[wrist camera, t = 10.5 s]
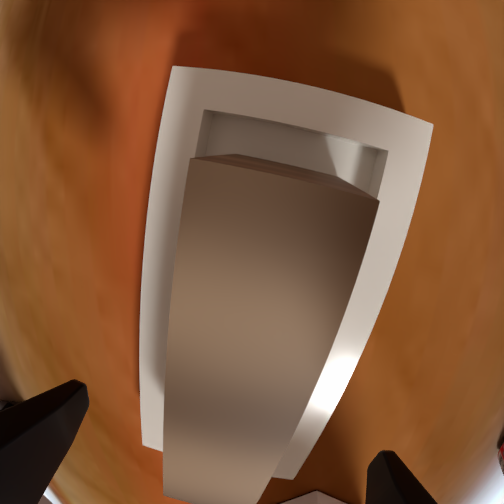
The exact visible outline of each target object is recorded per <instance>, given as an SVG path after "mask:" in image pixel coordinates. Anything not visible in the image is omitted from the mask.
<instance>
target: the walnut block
mask: <svg viewBox="0 0 504 504" xmlns="http://www.w3.org/2000/svg"><path fill="white" fill-rule="evenodd" d="M379 203H380V201H379V200H378V199H376V198H374V197H373V196H371V195H369V194H367V193H366V192H364V191H362V190H361V189H359V188H357V187H355V186H354V185H352V184H350V183H348V182H347V181H345V180H343V179H341V178H339V177H337V176H334V175H330V174H326V173H322V172H318V171H314V170H310V169H305V168H301V167H297V166H292V165H288V164H284V163H279V162H274V161H270V160H265V159H260V158H255V157H250V156H245V155H240V154H227V155H216V156H205V157H196V158H190V161H189V166H188V172H187V178H186V185H185V191H184V198H183V204H182V211H181V218H180V225H179V233H178V240H177V248H176V256H175V265H174V274H173V283H172V293H171V303H170V314H169V326H168V339H167V353H166V370H165V390H164V418H163V495H164V496H167V497H171V498H174V499H178V500H181V501H185V502H188V503H192V504H257V502H258V500H259V498H260V497H261V495H262V493H263V491H264V490H265V488H266V486H267V484H268V482H269V481H270V479H271V477H272V475H273V473H274V471H275V470H276V468H277V466H278V464H279V462H280V460H281V458H282V456H283V454H284V452H285V450H286V448H287V446H288V444H289V442H290V440H291V438H292V436H293V434H294V432H295V430H296V428H297V426H298V424H299V422H300V420H301V418H302V415H303V413H304V411H305V409H306V407H307V405H308V402H309V400H310V398H311V396H312V393H313V391H314V389H315V387H316V384H317V382H318V380H319V377H320V375H321V373H322V370H323V368H324V365H325V363H326V361H327V358H328V356H329V353H330V351H331V348H332V346H333V343H334V341H335V338H336V335H337V333H338V330H339V328H340V325H341V322H342V320H343V317H344V314H345V311H346V309H347V306H348V303H349V300H350V297H351V294H352V292H353V289H354V286H355V283H356V280H357V277H358V274H359V271H360V268H361V265H362V261H363V258H364V255H365V252H366V249H367V245H368V242H369V239H370V235H371V232H372V228H373V225H374V221H375V218H376V214H377V211H378V207H379Z"/></svg>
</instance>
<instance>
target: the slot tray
mask: <svg viewBox="0 0 504 504" xmlns="http://www.w3.org/2000/svg"><path fill="white" fill-rule="evenodd" d="M432 130H433V124H431V123H428V122H426V121H423V120H421V119H418V118H416V117H413V116H410V115H407V114H405V113H402V112H399V111H396V110H393V109H390V108H387V107H384V106H381V105H378V104H375V103H372V102H369V101H366V100H362V99H359V98H355V97H352V96H348V95H345V94H341V93H337V92H334V91H330V90H326V89H322V88H318V87H313V86H309V85H305V84H300V83H296V82H291V81H286V80H281V79H275V78H270V77H264V76H258V75H252V74H246V73H239V72H231V71H223V70H215V69H205V68H194V67H182V66H172V71H171V75H170V79H169V84H168V89H167V93H166V98H165V103H164V108H163V113H162V118H161V124H160V129H159V135H158V141H157V147H156V153H155V159H154V166H153V173H152V180H151V187H150V195H149V203H148V212H147V221H146V231H145V242H144V254H143V267H142V283H141V303H140V339H139V373H140V408H141V427H142V442H143V445H144V446H147V447H150V448H153V449H156V450H159V451H162V452H163V418H164V390H165V370H166V353H167V339H168V326H169V314H170V303H171V293H172V283H173V274H174V265H175V256H176V248H177V240H178V233H179V225H180V218H181V211H182V204H183V198H184V191H185V185H186V178H187V172H188V166H189V161H190V158H196V157H205V156H216V155H227V154H240V155H245V156H250V157H255V158H260V159H265V160H270V161H274V162H279V163H284V164H288V165H292V166H297V167H301V168H305V169H310V170H314V171H318V172H322V173H326V174H330V175H334V176H337V177H339V178H341V179H343V180H345V181H347V182H348V183H350V184H352V185H354V186H355V187H357V188H359V189H361V190H362V191H364V192H366V193H367V194H369V195H371V196H373V197H374V198H376V199H378V200H379V201H380V203H379V207H378V211H377V214H376V218H375V221H374V225H373V228H372V232H371V235H370V239H369V242H368V245H367V249H366V252H365V255H364V258H363V261H362V265H361V268H360V271H359V274H358V277H357V280H356V283H355V286H354V289H353V292H352V294H351V297H350V300H349V303H348V306H347V309H346V311H345V314H344V317H343V320H342V322H341V325H340V328H339V330H338V333H337V335H336V338H335V341H334V343H333V346H332V348H331V351H330V353H329V356H328V358H327V361H326V363H325V365H324V368H323V370H322V373H321V375H320V377H319V380H318V382H317V384H316V387H315V389H314V391H313V393H312V396H311V398H310V400H309V402H308V405H307V407H306V409H305V411H304V413H303V415H302V418H301V420H300V422H299V424H298V426H297V428H296V430H295V432H294V434H293V436H292V438H291V440H290V442H289V444H288V446H287V448H286V450H285V452H284V454H283V456H282V458H281V460H280V462H279V464H278V466H277V468H276V470H275V471H274V473H273V475H272V477H276V478H283V479H291V480H293V479H294V478H295V476H296V474H297V473H298V471H299V470H300V468H301V467H302V465H303V463H304V462H305V460H306V458H307V457H308V455H309V453H310V452H311V450H312V448H313V447H314V445H315V443H316V442H317V440H318V438H319V436H320V435H321V433H322V431H323V429H324V427H325V426H326V424H327V422H328V420H329V418H330V417H331V415H332V413H333V411H334V409H335V407H336V405H337V403H338V401H339V399H340V397H341V396H342V394H343V392H344V390H345V388H346V386H347V383H348V381H349V379H350V377H351V375H352V373H353V371H354V369H355V367H356V365H357V363H358V360H359V358H360V356H361V354H362V352H363V349H364V347H365V345H366V342H367V340H368V338H369V336H370V333H371V331H372V328H373V326H374V324H375V321H376V319H377V316H378V314H379V311H380V309H381V306H382V304H383V301H384V298H385V296H386V293H387V291H388V288H389V285H390V282H391V280H392V277H393V274H394V271H395V268H396V265H397V262H398V260H399V257H400V254H401V250H402V247H403V244H404V241H405V238H406V235H407V231H408V228H409V225H410V221H411V218H412V214H413V211H414V207H415V204H416V200H417V196H418V192H419V189H420V185H421V181H422V176H423V172H424V168H425V164H426V159H427V155H428V150H429V145H430V140H431V135H432Z"/></svg>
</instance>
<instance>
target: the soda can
mask: <svg viewBox="0 0 504 504" xmlns="http://www.w3.org/2000/svg"><path fill="white" fill-rule="evenodd" d="M498 459H499V463H500V466H501V469H502V472H503V474H504V442H503V445H502V446H501V448H500V450H499V452H498Z"/></svg>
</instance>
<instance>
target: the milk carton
mask: <svg viewBox="0 0 504 504" xmlns="http://www.w3.org/2000/svg"><path fill="white" fill-rule="evenodd" d="M281 504H346V503H344V502H342V501H339V500H337V499H335V498H332V497H330V496H328V495H325V494H323V493H321V492H319V491H314V492H311V493H309V494H306V495H303V496H301V497H298V498H295V499H292V500H290V501H287V502H284V503H281Z"/></svg>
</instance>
